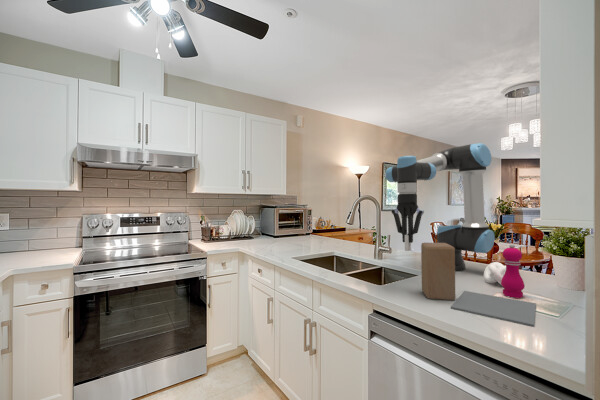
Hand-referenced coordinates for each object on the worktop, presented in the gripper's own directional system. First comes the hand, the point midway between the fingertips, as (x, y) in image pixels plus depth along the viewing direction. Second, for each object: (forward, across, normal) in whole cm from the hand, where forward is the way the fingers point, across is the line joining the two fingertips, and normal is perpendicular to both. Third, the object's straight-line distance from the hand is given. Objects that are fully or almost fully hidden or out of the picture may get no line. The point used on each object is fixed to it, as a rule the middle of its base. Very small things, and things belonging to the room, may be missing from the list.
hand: (407, 250), depth 117 cm
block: (+17, +11, 0) cm, 20 cm away
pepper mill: (+17, +33, +18) cm, 41 cm away
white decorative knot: (+17, +28, +33) cm, 47 cm away
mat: (+16, +29, 0) cm, 34 cm away
